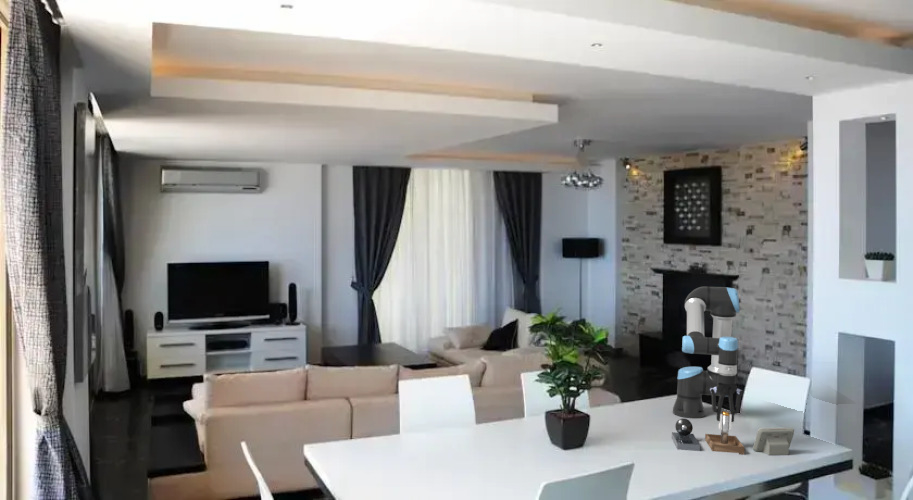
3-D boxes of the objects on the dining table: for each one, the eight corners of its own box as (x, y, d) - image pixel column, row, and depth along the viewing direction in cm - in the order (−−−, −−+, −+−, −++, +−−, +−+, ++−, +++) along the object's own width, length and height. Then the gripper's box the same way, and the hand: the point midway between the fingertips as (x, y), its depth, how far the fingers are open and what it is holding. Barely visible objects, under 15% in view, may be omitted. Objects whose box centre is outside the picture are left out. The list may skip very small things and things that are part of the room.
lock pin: (719, 441, 303) (721, 411, 303) (727, 442, 303) (728, 411, 302) (721, 443, 300) (722, 412, 300) (728, 444, 300) (730, 413, 299)
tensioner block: (671, 439, 312) (672, 416, 311) (692, 440, 310) (693, 417, 310) (677, 450, 296) (678, 426, 296) (699, 452, 295) (700, 428, 294)
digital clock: (788, 449, 301) (790, 425, 301) (797, 456, 292) (798, 431, 292) (749, 448, 302) (750, 423, 302) (757, 455, 293) (758, 429, 293)
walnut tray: (704, 440, 310) (705, 433, 310) (735, 443, 309) (735, 435, 308) (712, 452, 295) (712, 444, 295) (744, 454, 293) (744, 447, 293)
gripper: (709, 374, 298) (706, 430, 299) (749, 377, 296) (746, 432, 297) (705, 371, 305) (703, 425, 306) (744, 373, 303) (742, 427, 304)
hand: (724, 428), depth 302 cm, fingers closed on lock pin, 3 cm apart
